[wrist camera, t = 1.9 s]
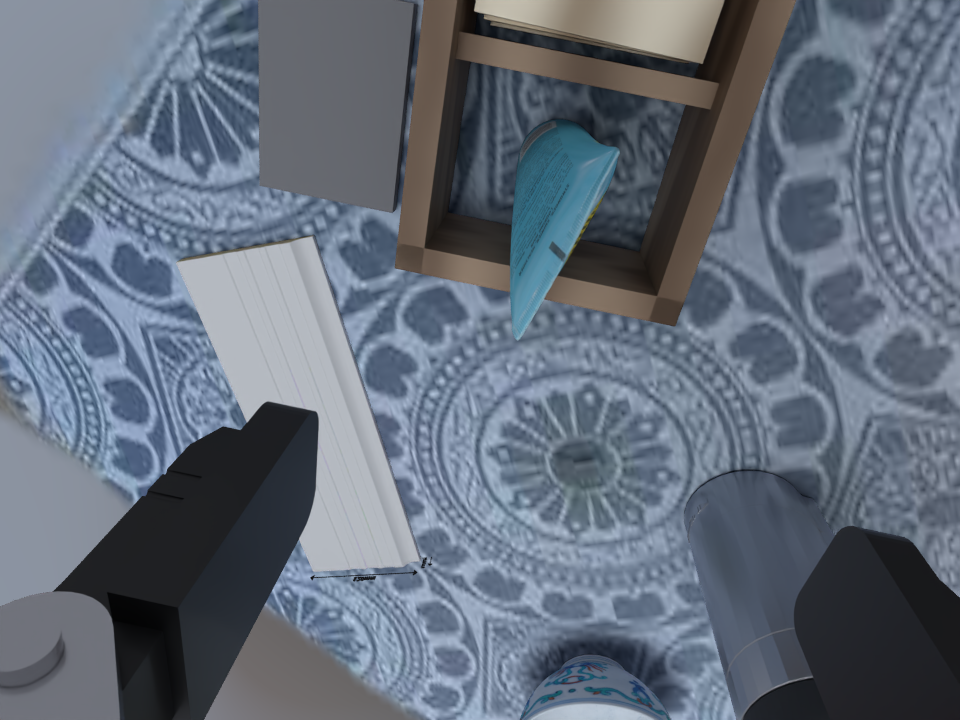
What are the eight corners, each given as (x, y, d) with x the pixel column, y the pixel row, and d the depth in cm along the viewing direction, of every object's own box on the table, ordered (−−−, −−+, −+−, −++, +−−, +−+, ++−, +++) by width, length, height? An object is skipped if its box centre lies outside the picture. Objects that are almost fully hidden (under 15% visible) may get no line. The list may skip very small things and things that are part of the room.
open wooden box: (776, -85, 30) (842, -124, 23) (654, 277, 40) (675, 326, 33) (471, -144, 31) (446, -200, 24) (423, 229, 40) (394, 268, 33)
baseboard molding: (336, 229, 42) (187, 255, 44) (321, 241, 39) (164, 268, 41) (437, 553, 55) (319, 559, 58) (431, 577, 53) (308, 583, 55)
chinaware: (516, 712, 64) (511, 790, 57) (521, 618, 57) (516, 694, 50) (658, 728, 63) (670, 810, 56) (680, 633, 56) (697, 715, 49)
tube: (570, 227, 39) (579, 364, 22) (501, 201, 39) (458, 320, 22) (619, 112, 35) (675, 172, 19) (544, 83, 35) (531, 116, 18)
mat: (417, 4, 34) (413, 3, 33) (396, 209, 40) (392, 212, 39) (265, -26, 34) (258, -28, 33) (266, 182, 40) (259, 185, 39)
